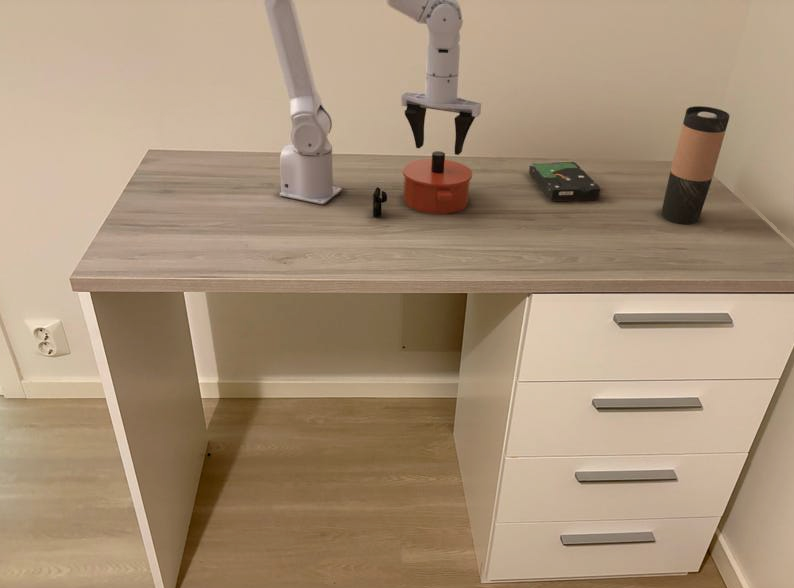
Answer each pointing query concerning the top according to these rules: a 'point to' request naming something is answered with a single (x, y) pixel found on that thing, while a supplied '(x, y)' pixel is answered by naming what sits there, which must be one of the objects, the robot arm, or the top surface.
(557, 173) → the disk drive
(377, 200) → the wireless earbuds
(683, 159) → the travel mug
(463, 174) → the lid
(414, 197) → the pan
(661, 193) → the top surface
